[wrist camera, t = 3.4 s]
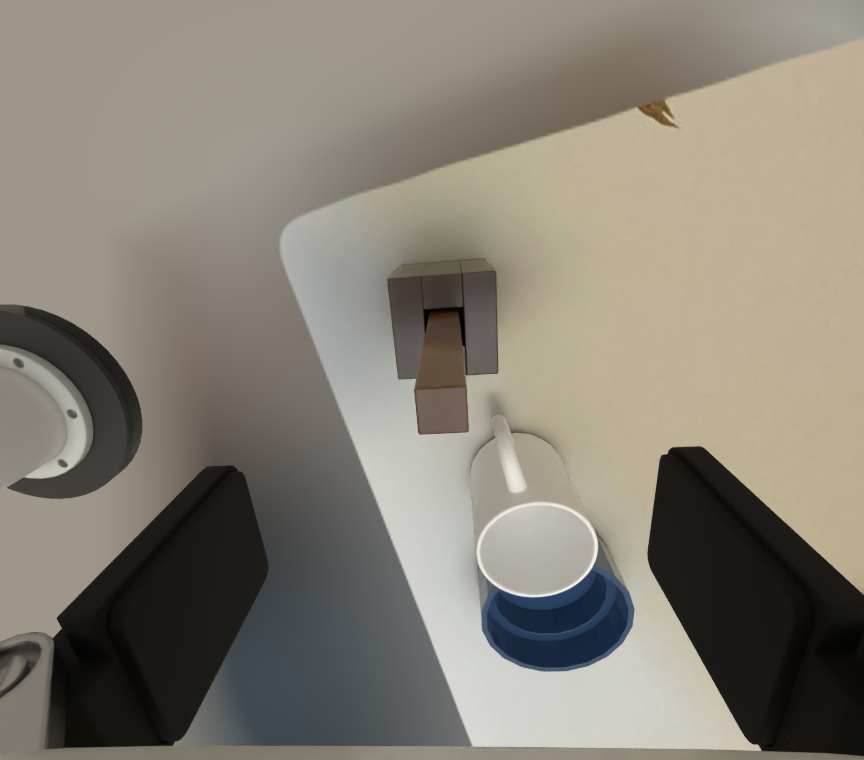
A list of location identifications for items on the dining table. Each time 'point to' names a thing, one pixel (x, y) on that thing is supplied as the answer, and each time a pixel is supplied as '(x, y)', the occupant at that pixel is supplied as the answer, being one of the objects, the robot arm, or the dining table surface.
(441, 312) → the stick
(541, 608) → the bowl
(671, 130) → the dining table surface
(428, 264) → the stand
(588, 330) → the dining table surface
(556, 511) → the cup
